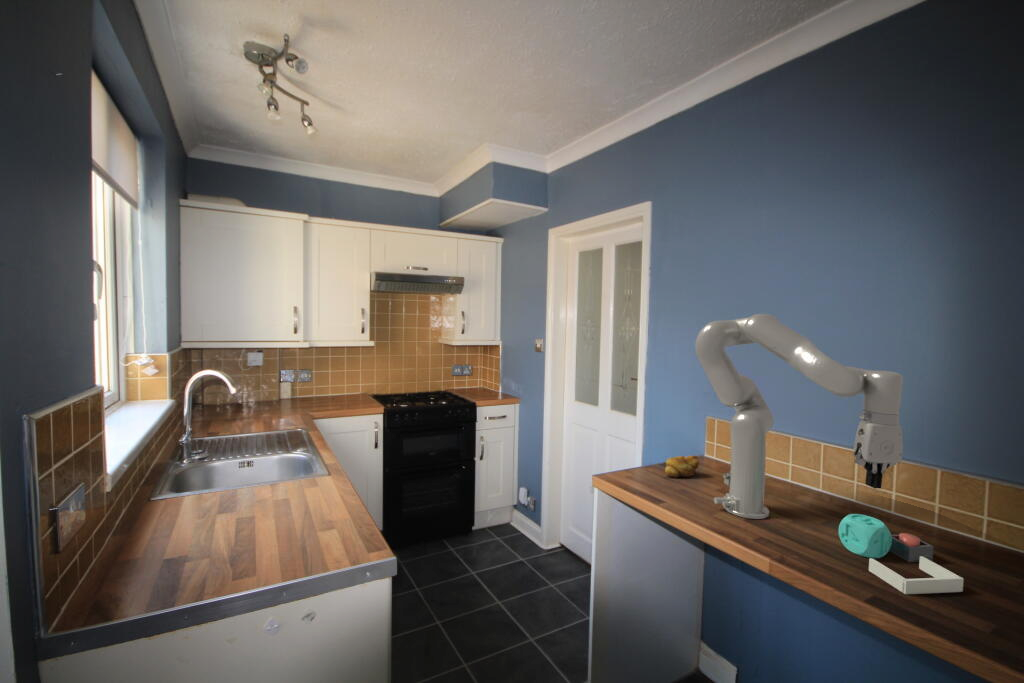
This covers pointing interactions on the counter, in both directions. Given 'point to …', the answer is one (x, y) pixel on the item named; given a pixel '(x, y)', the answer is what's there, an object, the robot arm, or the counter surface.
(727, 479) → the egg carton
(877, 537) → the decorative dice
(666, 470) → the bread roll
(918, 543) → the button
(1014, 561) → the counter surface
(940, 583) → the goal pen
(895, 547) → the button collar
